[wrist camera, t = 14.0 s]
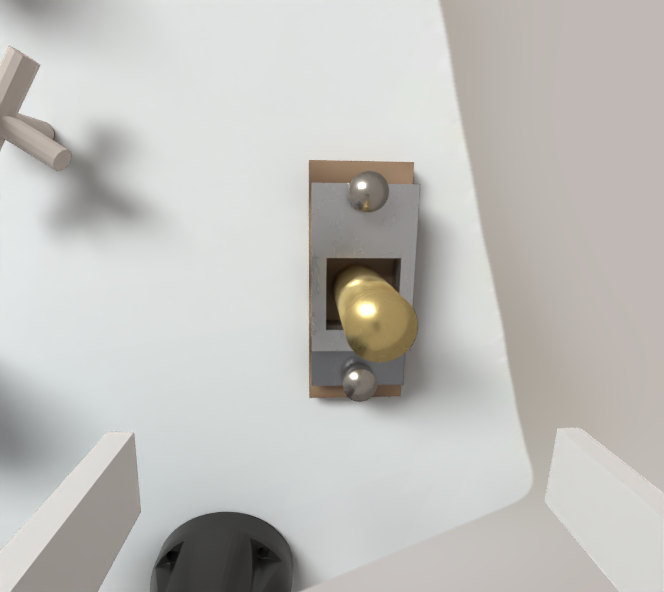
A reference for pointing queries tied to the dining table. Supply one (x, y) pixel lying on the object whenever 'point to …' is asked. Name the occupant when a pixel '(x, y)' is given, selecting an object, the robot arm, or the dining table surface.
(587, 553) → the robot arm
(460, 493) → the dining table surface
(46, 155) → the pipe connector
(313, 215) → the grey slotted fixture
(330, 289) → the walnut board
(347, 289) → the brass pin
